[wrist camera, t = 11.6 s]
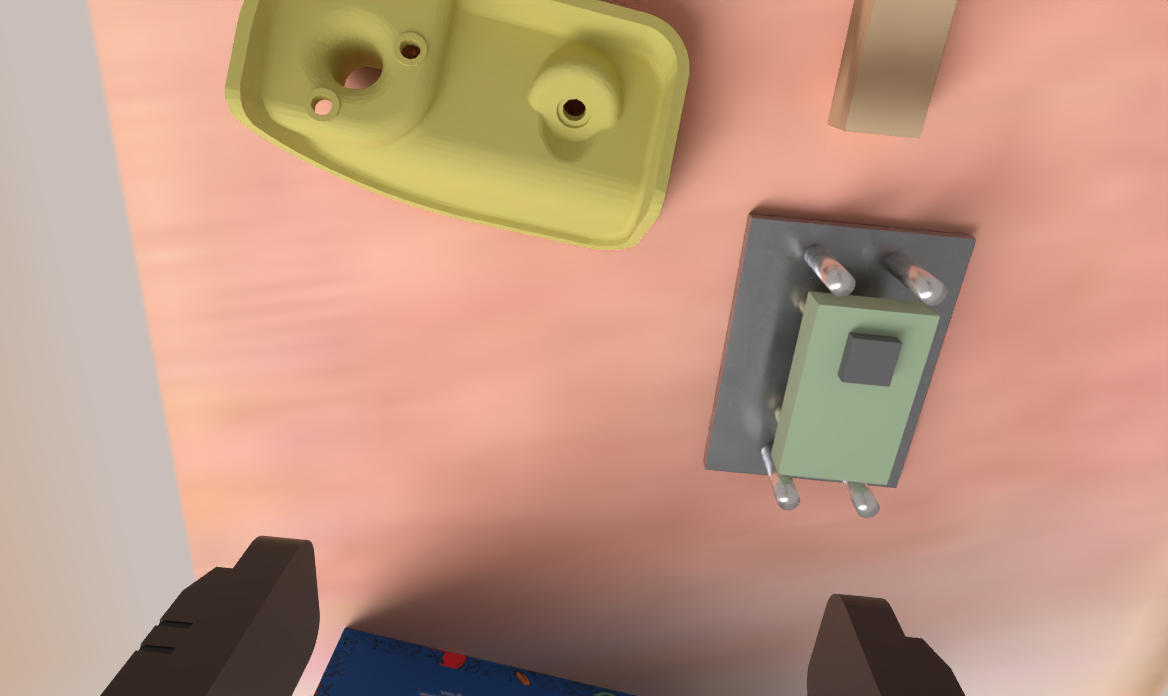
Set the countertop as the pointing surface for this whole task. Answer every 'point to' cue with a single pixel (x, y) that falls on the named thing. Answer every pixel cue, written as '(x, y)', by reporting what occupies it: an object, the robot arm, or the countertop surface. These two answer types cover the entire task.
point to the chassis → (774, 314)
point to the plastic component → (475, 106)
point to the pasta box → (431, 673)
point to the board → (851, 386)
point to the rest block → (890, 65)
